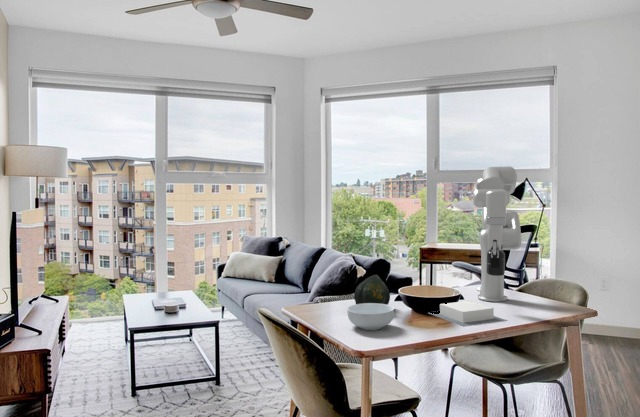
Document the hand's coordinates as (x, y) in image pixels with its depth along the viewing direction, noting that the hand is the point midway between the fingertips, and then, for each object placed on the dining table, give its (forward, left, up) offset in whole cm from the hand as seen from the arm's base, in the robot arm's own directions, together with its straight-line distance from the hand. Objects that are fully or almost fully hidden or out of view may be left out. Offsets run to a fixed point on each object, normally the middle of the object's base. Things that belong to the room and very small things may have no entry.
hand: (495, 266), depth 202 cm
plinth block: (+2, -16, -18) cm, 24 cm away
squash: (-25, -42, -19) cm, 52 cm away
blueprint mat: (+2, -16, -19) cm, 25 cm away
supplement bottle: (0, 0, -4) cm, 4 cm away
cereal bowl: (-2, -55, -19) cm, 58 cm away
